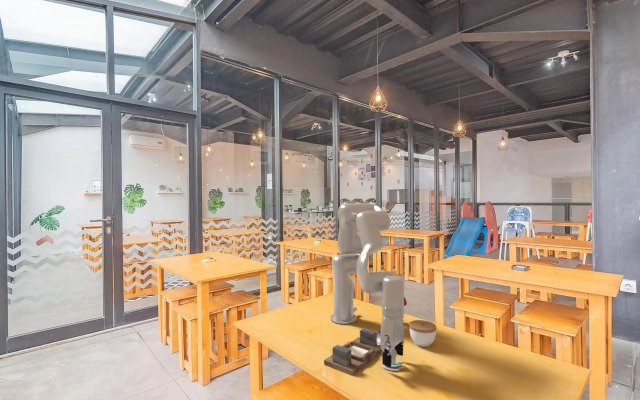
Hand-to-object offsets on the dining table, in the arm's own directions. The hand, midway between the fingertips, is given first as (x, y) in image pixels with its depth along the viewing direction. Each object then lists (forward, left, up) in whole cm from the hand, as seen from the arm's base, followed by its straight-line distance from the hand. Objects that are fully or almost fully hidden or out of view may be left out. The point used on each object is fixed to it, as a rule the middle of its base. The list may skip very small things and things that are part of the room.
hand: (392, 359), depth 118 cm
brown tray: (+2, -14, -2) cm, 14 cm away
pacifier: (+1, 0, -3) cm, 3 cm away
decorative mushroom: (-38, -16, -3) cm, 42 cm away
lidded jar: (-24, +2, -3) cm, 24 cm away
